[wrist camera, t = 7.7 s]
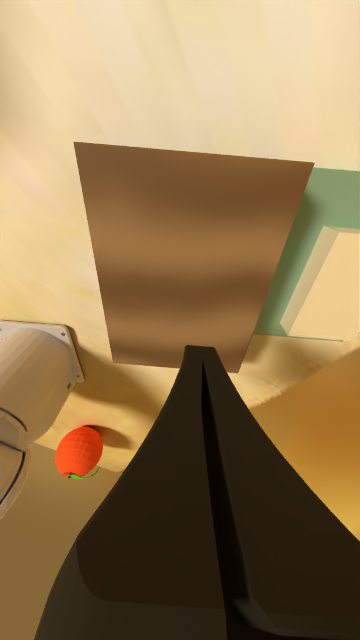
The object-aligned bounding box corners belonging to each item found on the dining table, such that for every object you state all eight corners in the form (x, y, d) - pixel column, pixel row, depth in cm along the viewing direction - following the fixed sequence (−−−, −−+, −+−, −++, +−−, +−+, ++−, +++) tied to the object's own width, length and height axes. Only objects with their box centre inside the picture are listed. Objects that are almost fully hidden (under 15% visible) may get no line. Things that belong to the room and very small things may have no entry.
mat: (341, 339, 22) (343, 341, 21) (238, 331, 22) (238, 332, 21) (455, 180, 13) (459, 180, 13) (289, 165, 13) (291, 165, 13)
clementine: (121, 434, 36) (107, 483, 31) (97, 443, 39) (81, 490, 33) (84, 414, 33) (61, 465, 27) (60, 426, 36) (35, 474, 30)
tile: (287, 335, 19) (279, 322, 20) (352, 341, 19) (339, 327, 20) (339, 232, 13) (323, 225, 15) (429, 239, 13) (403, 232, 15)
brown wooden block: (231, 344, 23) (238, 373, 19) (124, 335, 23) (113, 362, 19) (284, 165, 13) (314, 162, 10) (102, 149, 13) (73, 141, 10)
